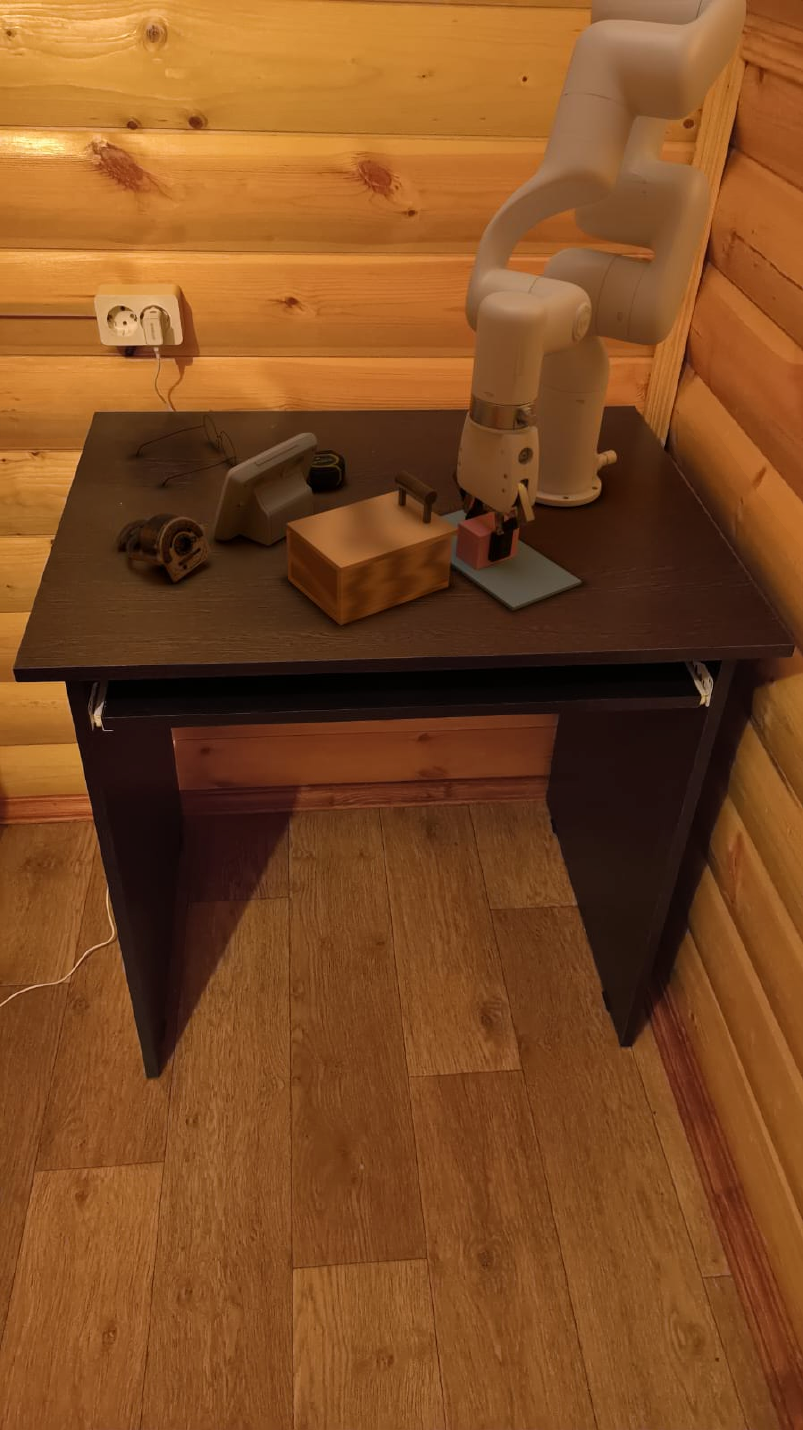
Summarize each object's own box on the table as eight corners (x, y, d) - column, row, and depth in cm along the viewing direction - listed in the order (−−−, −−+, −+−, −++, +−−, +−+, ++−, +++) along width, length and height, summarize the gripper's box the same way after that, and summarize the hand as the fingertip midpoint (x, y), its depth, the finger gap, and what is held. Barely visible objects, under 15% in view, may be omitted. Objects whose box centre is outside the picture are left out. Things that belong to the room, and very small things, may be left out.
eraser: (494, 541, 131) (498, 509, 128) (515, 556, 129) (520, 523, 126) (455, 555, 128) (458, 522, 125) (476, 569, 126) (479, 536, 123)
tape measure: (334, 468, 147) (334, 444, 144) (352, 489, 142) (352, 464, 140) (289, 475, 144) (288, 450, 142) (306, 497, 140) (305, 471, 137)
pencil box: (393, 545, 131) (395, 496, 126) (448, 586, 123) (452, 537, 119) (287, 579, 123) (286, 529, 119) (340, 625, 116) (340, 574, 112)
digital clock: (296, 493, 140) (294, 419, 133) (339, 518, 135) (339, 443, 129) (197, 530, 131) (189, 453, 125) (239, 559, 126) (233, 480, 120)
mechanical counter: (127, 555, 116) (209, 522, 118) (96, 497, 123) (173, 466, 126) (146, 601, 121) (224, 569, 123) (115, 542, 129) (189, 513, 131)
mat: (469, 510, 139) (469, 507, 138) (581, 584, 125) (581, 580, 125) (403, 531, 133) (403, 528, 133) (512, 610, 120) (513, 607, 120)
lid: (400, 495, 127) (402, 457, 123) (458, 535, 120) (461, 496, 116) (286, 529, 119) (284, 489, 116) (340, 573, 112) (340, 533, 109)
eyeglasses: (164, 490, 139) (160, 455, 136) (133, 453, 148) (129, 420, 144) (240, 474, 144) (238, 440, 141) (206, 439, 152) (204, 407, 149)
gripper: (576, 428, 113) (553, 571, 125) (481, 378, 124) (467, 515, 135) (525, 442, 110) (506, 588, 121) (431, 390, 120) (422, 529, 131)
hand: (486, 548), depth 128 cm, fingers closed on eraser, 4 cm apart
